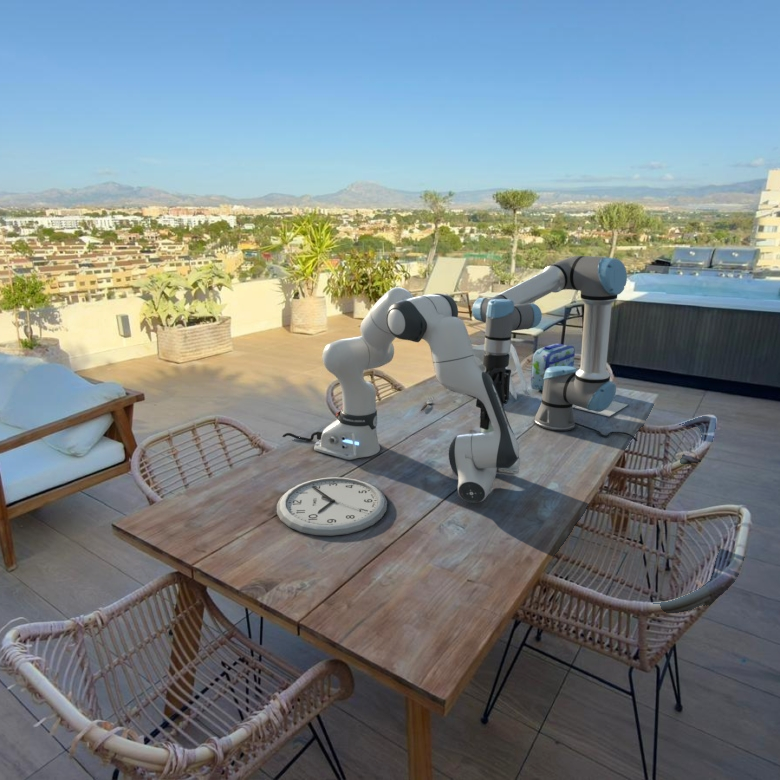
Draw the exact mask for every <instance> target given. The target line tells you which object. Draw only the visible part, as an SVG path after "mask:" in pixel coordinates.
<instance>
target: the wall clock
mask: <svg viewBox="0 0 780 780" xmlns="http://www.w3.org/2000/svg"><path fill="white" fill-rule="evenodd" d="M387 509H388V500H387V498H386V496H385V494H384V493H383V492H382V491H381V490H380V489H379V488H377V487H376V486H374V485H372V484H371V483H369V482H365V481H362V480H359V479H355V478H349V477H338V476H337V477H335V476H333V477H332V476H331V477H322V478H317V479H312V480H307V481H305V482H302V483H299V484H297V485H295V486H293V487H292V488H290V489H288V490H287V491H286V492H285V493H284V494H283V495H281V496H280V498H279V499H278V502H277V503H276V515H277V517H278V518H279V520H280V521H281V522H282V523H283V524H285V525H286V526H287V527H288V528H290V529H293V530H295V531H297V532H299V533H303V534H308V535H312V536H327V537H328V536H329V537H331V536H332V537H333V536H342V535H350V534H352V533H356V532H361V531H363V530H366V529H368V528H369V527H372V526H373V525H375V524H376V523H378V522H379V521H380V520H381V519H382V518H383V517H384V516H385V514H386V512H387Z"/></svg>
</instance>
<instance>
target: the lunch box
mask: <svg viewBox="0 0 780 780" xmlns="http://www.w3.org/2000/svg"><path fill="white" fill-rule="evenodd" d="M575 352H576V351H575V346H573V345H568V344H562V343H553V344H550V345H547V346H546V345H545V346H544V347H541V348H538V349H537V350H536V351H535V352H534V354H533V357H532V362H531V371H530V372H531V374H530V387H531V389H533V390H539V391H543V381H544V379H543V378H544V375H545V371H546V369H547V368H549V367H555V366H571V367H574V363H575Z"/></svg>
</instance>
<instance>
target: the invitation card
mask: <svg viewBox="0 0 780 780" xmlns="http://www.w3.org/2000/svg"><path fill="white" fill-rule="evenodd" d="M628 406H629V404H627V403H623V402H618V401H614V400H613V401H612V402H611V404H610V405H609V406H608V408H606V409H605V410H604V411H601V412H596V411H592V410H588V409H585V408H582V407H579V406H576V405H575V406H574V407H573V409H575V410H581V411H584V412H587V413H593V414H596V415H600V416H604V417H608V418H609V417H611V416H613V415H614V414H616V413H617V412H619V411H621V410H623V409H624V408H626V407H628Z"/></svg>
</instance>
